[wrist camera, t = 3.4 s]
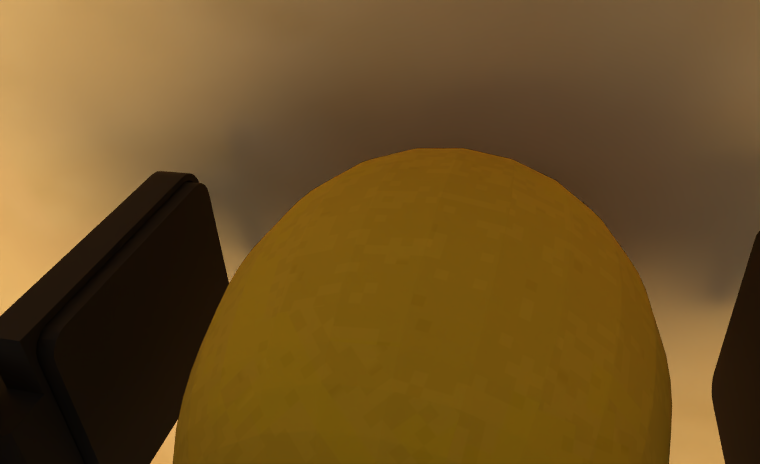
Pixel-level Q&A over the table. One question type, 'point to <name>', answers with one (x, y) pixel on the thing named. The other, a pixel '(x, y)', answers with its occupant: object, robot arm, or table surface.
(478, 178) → the lemon
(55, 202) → the table surface
